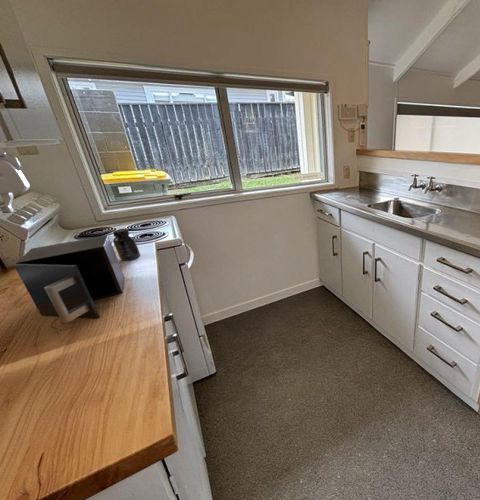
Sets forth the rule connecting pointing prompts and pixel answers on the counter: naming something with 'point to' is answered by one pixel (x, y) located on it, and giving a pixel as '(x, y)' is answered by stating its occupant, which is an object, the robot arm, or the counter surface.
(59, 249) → the cupboard
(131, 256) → the supplement bottle
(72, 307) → the cupboard door
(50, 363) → the counter surface
